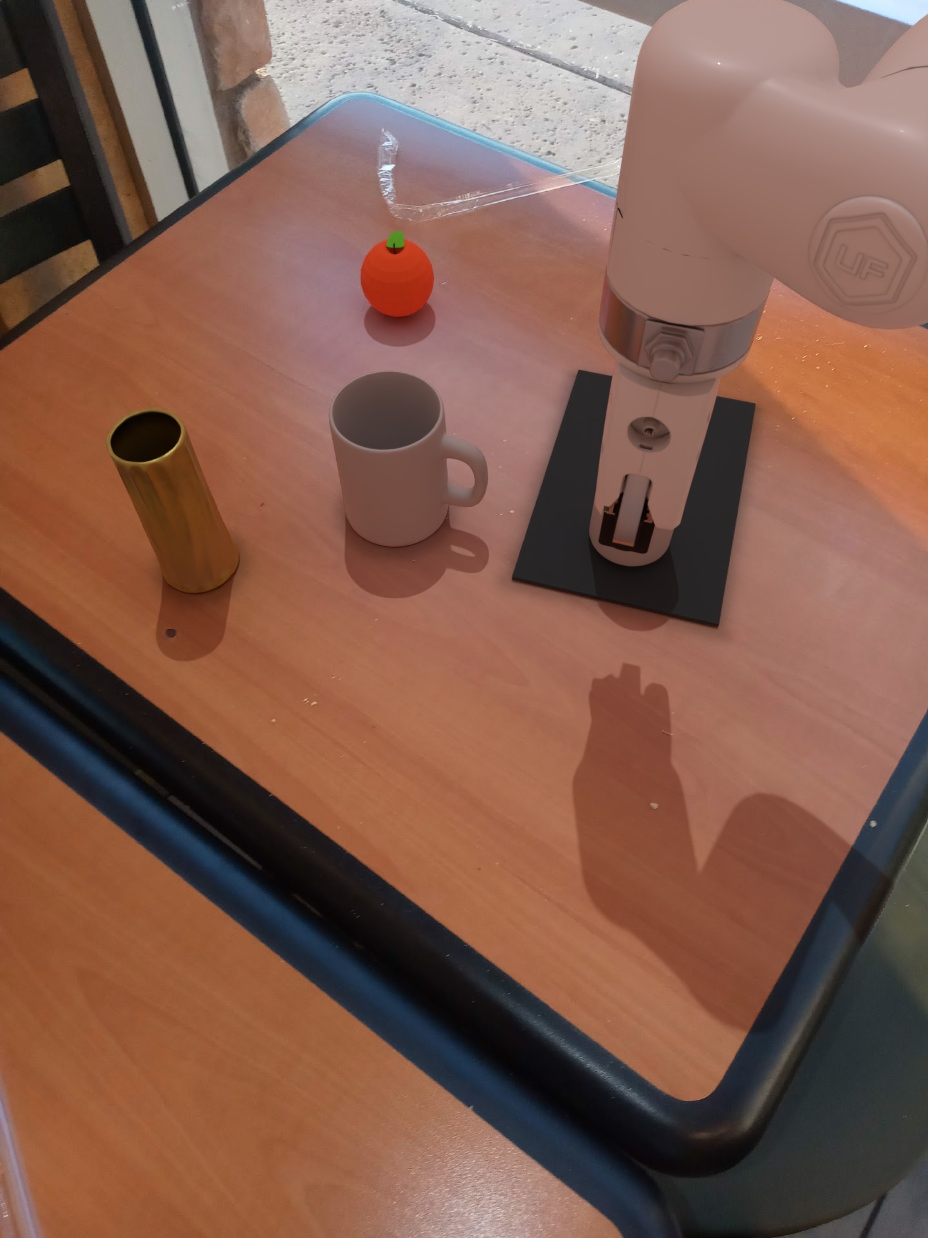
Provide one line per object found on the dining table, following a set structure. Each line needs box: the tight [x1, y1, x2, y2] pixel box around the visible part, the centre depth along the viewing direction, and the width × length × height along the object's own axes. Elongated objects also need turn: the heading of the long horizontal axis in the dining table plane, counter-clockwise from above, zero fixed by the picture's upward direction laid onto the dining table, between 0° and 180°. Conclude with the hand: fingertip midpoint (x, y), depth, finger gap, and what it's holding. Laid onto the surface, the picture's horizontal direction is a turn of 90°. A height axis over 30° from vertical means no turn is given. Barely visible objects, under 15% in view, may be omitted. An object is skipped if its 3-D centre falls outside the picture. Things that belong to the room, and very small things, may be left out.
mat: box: [511, 369, 756, 628], centre depth 76 cm, size 24×16×1 cm, turn 164°
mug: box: [328, 369, 489, 548], centre depth 70 cm, size 12×8×11 cm
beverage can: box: [589, 493, 674, 566], centre depth 67 cm, size 6×6×12 cm
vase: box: [105, 407, 240, 594], centre depth 66 cm, size 6×6×14 cm
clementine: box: [359, 230, 435, 318], centre depth 85 cm, size 8×7×7 cm
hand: (624, 539), depth 59 cm, fingers closed
